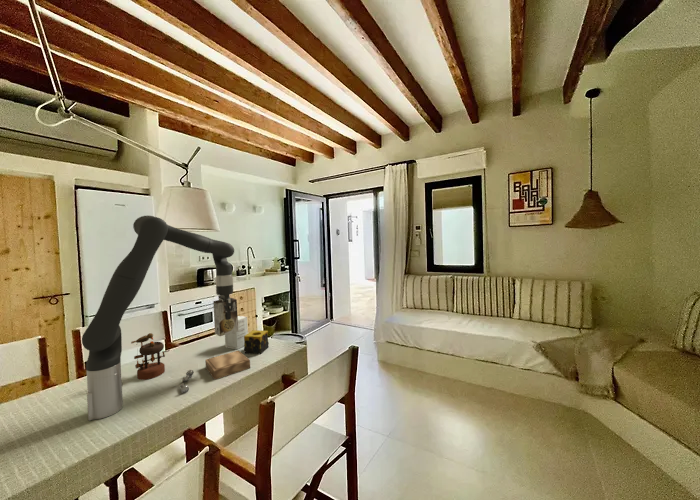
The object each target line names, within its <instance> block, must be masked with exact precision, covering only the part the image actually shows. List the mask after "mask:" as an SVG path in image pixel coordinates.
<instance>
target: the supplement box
mask: <svg viewBox="0 0 700 500" xmlns="http://www.w3.org/2000/svg"><path fill="white" fill-rule="evenodd" d="M248 327H249V326H248V316H243V315H238V331H237V332H234V333H230V334H227V335H224V345H225V347H224V348H225V349H233V350H239V349H241V348H244V336H245V335H247V334H248V333H249V329H248Z"/></svg>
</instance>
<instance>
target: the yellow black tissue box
mask: <svg viewBox="0 0 700 500" xmlns="http://www.w3.org/2000/svg"><path fill="white" fill-rule="evenodd" d="M268 334H269V331H268V330H257V329H256V330H255V329H253V330H251V331H249V332H248V334H247V335H245V336H244V346H243V350H244V355H245V354H250V355H261V354H263V353H264V352H266V350H267V349H268V348H269V345H270V343H269V335H268Z"/></svg>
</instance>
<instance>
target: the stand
mask: <svg viewBox="0 0 700 500" xmlns="http://www.w3.org/2000/svg"><path fill="white" fill-rule="evenodd" d="M205 368H206V370H207V371H208V372H209V374H210V375H211V377H212V378H213V380H218V379H221V378H224V377H227V376H230V375H233V374H236V373H239V372H240V373H241V372H243V371H246V370H249V369H251V359H250V358H248V357H247V356H246V355H245V354H243V353H242V352H241V351H240V350H239V349H237V350H234V351H231V352H228V353H225V354H221V355H220V354H219V355H218V356H214V357H211V358H206V359H205Z"/></svg>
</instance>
